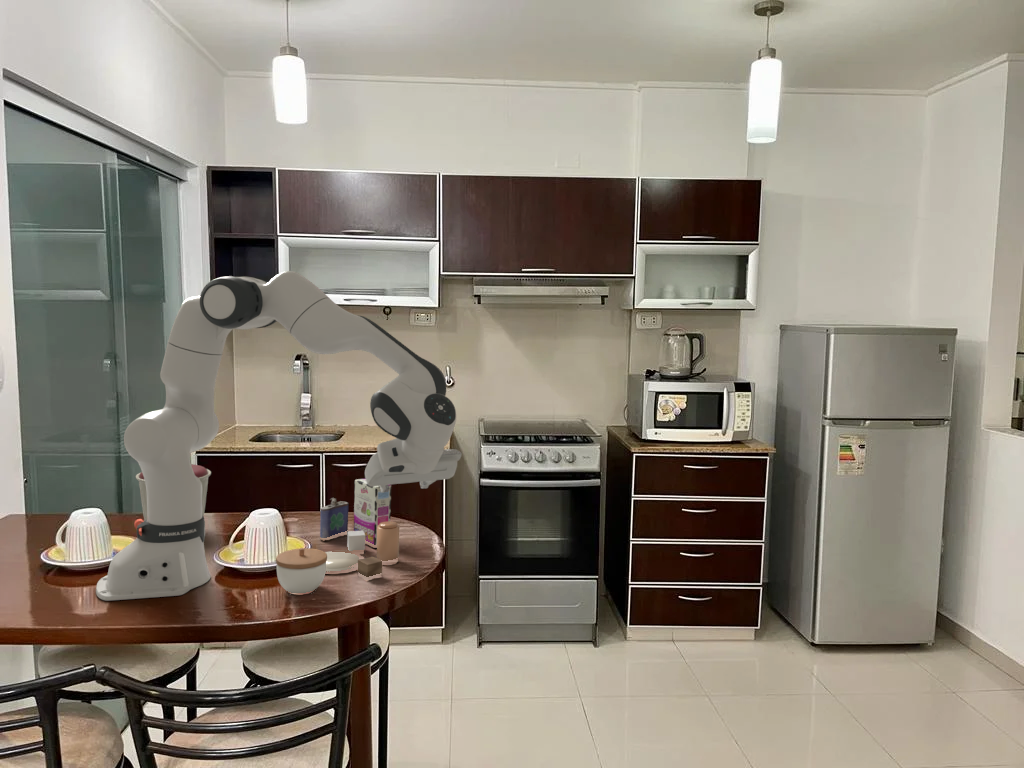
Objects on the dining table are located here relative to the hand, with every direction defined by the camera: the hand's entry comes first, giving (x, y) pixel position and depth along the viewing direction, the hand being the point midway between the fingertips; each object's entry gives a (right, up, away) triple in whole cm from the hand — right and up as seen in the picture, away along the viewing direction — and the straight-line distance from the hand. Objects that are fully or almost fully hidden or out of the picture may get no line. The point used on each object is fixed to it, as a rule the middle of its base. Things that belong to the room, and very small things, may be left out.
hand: (403, 487), depth 165 cm
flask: (-24, -18, +32) cm, 43 cm away
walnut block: (-8, -21, +4) cm, 23 cm away
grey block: (-15, -19, +20) cm, 32 cm away
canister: (-66, -17, +29) cm, 74 cm away
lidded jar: (-22, -22, -6) cm, 31 cm away
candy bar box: (-13, -19, +28) cm, 36 cm away
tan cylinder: (-6, -20, +14) cm, 25 cm away
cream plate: (-18, -20, +11) cm, 29 cm away
